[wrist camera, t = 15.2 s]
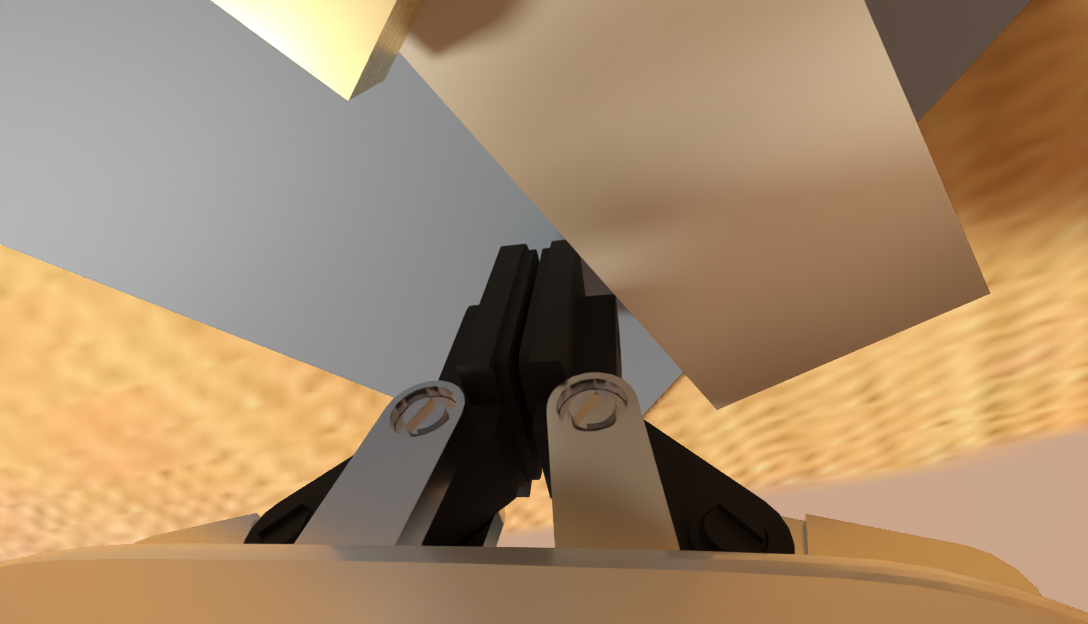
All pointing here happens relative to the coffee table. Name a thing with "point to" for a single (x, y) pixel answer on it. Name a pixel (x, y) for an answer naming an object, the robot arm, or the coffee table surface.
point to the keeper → (333, 35)
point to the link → (714, 168)
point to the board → (304, 180)
